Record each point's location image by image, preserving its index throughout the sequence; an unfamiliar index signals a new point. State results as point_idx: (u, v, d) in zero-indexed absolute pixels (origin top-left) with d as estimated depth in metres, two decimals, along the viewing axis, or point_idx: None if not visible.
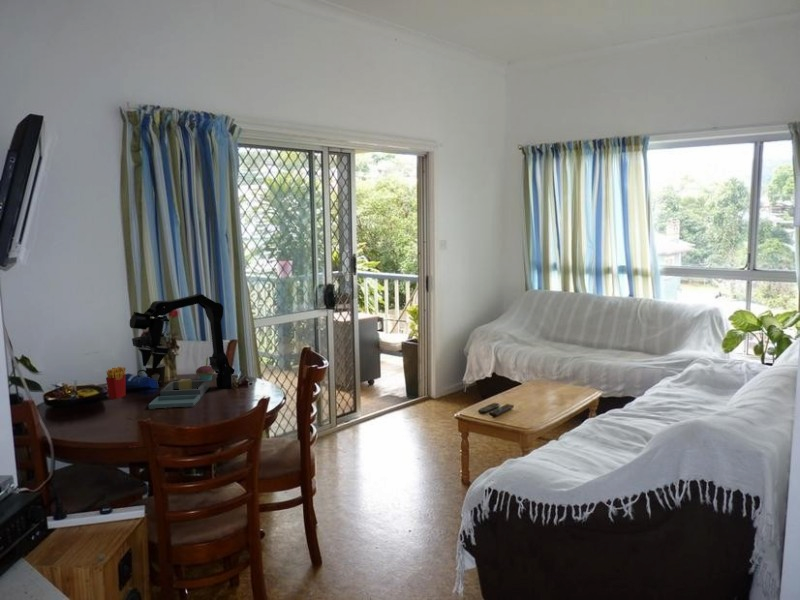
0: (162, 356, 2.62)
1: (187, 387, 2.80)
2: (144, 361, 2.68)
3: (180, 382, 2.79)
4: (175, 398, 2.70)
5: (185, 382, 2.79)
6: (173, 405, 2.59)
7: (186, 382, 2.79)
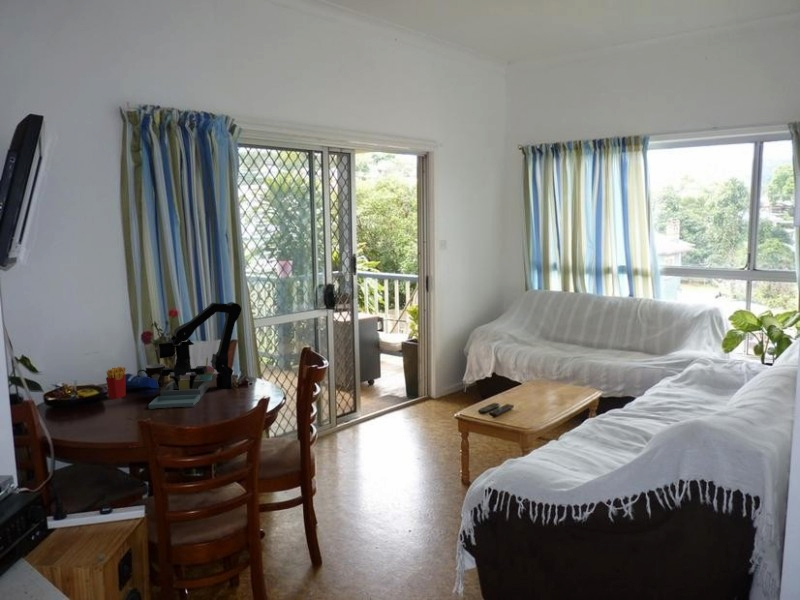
0: None
1: (187, 387, 2.80)
2: None
3: (180, 382, 2.79)
4: (175, 398, 2.70)
5: (185, 382, 2.79)
6: (173, 405, 2.59)
7: (186, 382, 2.79)
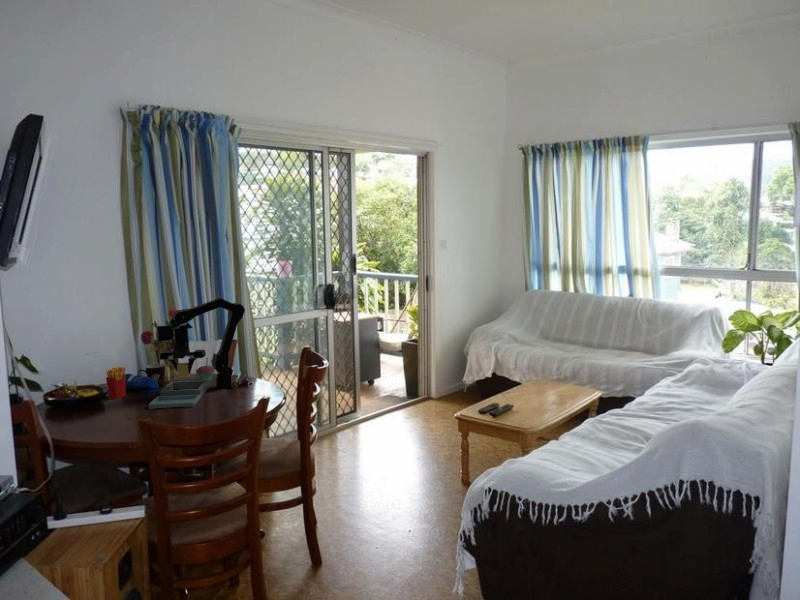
0: None
1: (186, 370, 2.79)
2: None
3: (179, 365, 2.78)
4: (175, 398, 2.70)
5: (184, 365, 2.78)
6: (173, 405, 2.59)
7: (185, 365, 2.78)
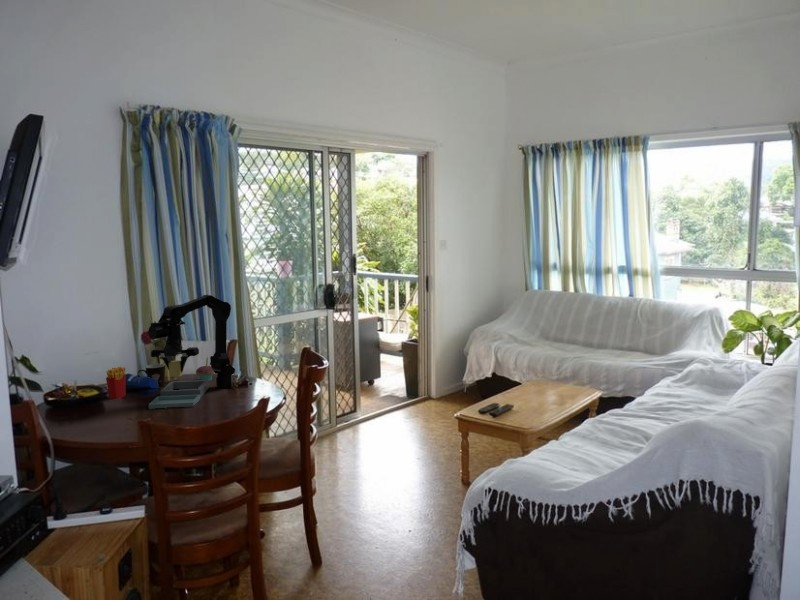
0: (187, 357, 2.71)
1: (178, 369, 2.67)
2: None
3: (171, 363, 2.67)
4: (175, 398, 2.70)
5: (176, 363, 2.67)
6: (173, 405, 2.59)
7: (177, 363, 2.67)
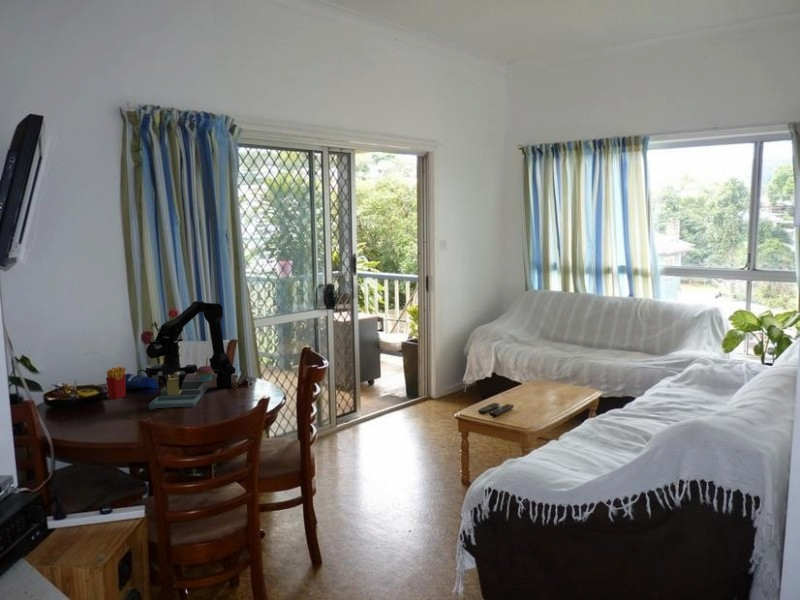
0: None
1: (176, 387, 2.62)
2: None
3: (169, 382, 2.62)
4: (175, 398, 2.70)
5: (174, 382, 2.62)
6: (173, 405, 2.59)
7: (175, 382, 2.62)
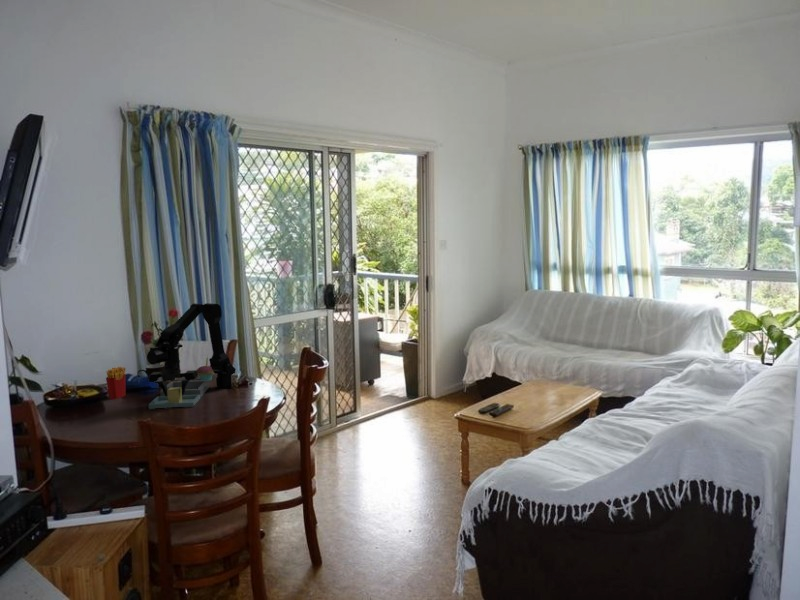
0: None
1: (177, 396, 2.63)
2: (166, 391, 2.64)
3: (169, 391, 2.62)
4: None
5: (174, 391, 2.63)
6: (173, 405, 2.59)
7: (176, 391, 2.63)
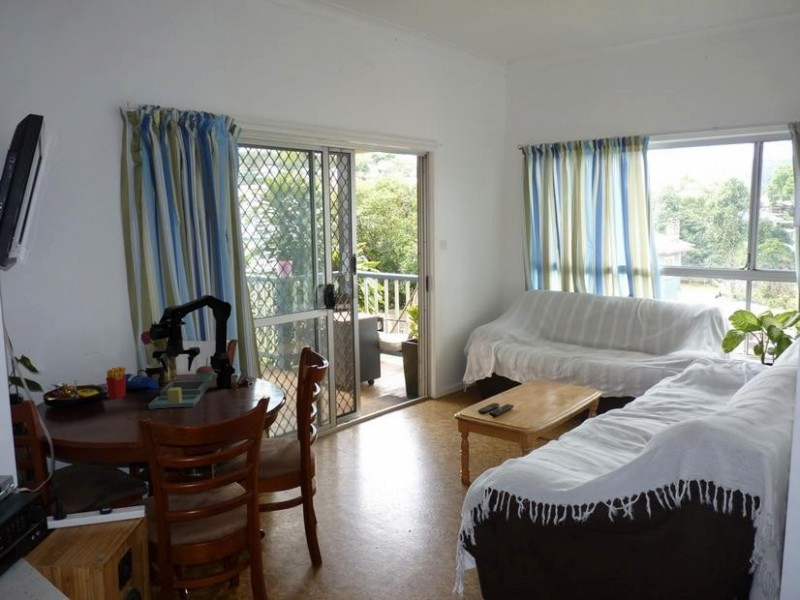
0: None
1: (177, 396, 2.63)
2: (166, 368, 2.69)
3: (169, 391, 2.62)
4: None
5: (174, 391, 2.63)
6: (173, 405, 2.59)
7: (176, 391, 2.63)
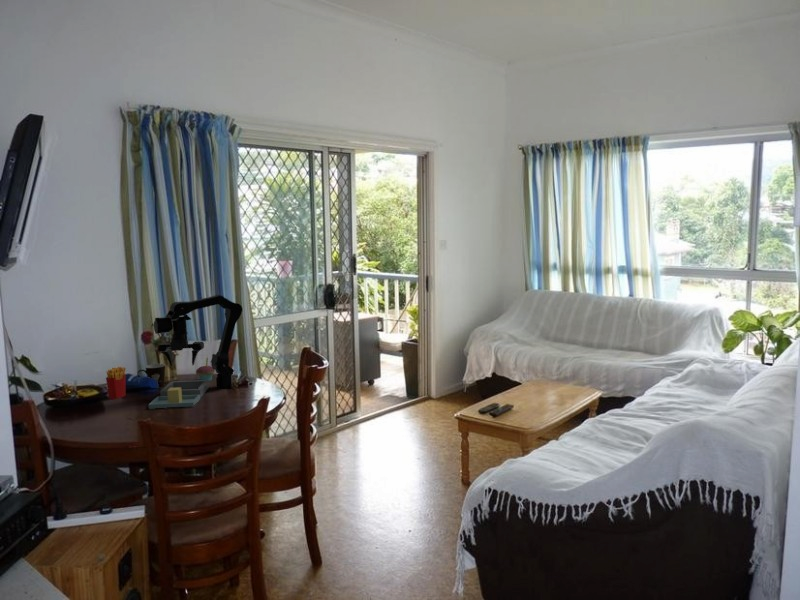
0: None
1: (177, 396, 2.63)
2: (171, 361, 2.77)
3: (169, 391, 2.62)
4: None
5: (174, 391, 2.63)
6: (173, 405, 2.59)
7: (176, 391, 2.63)
